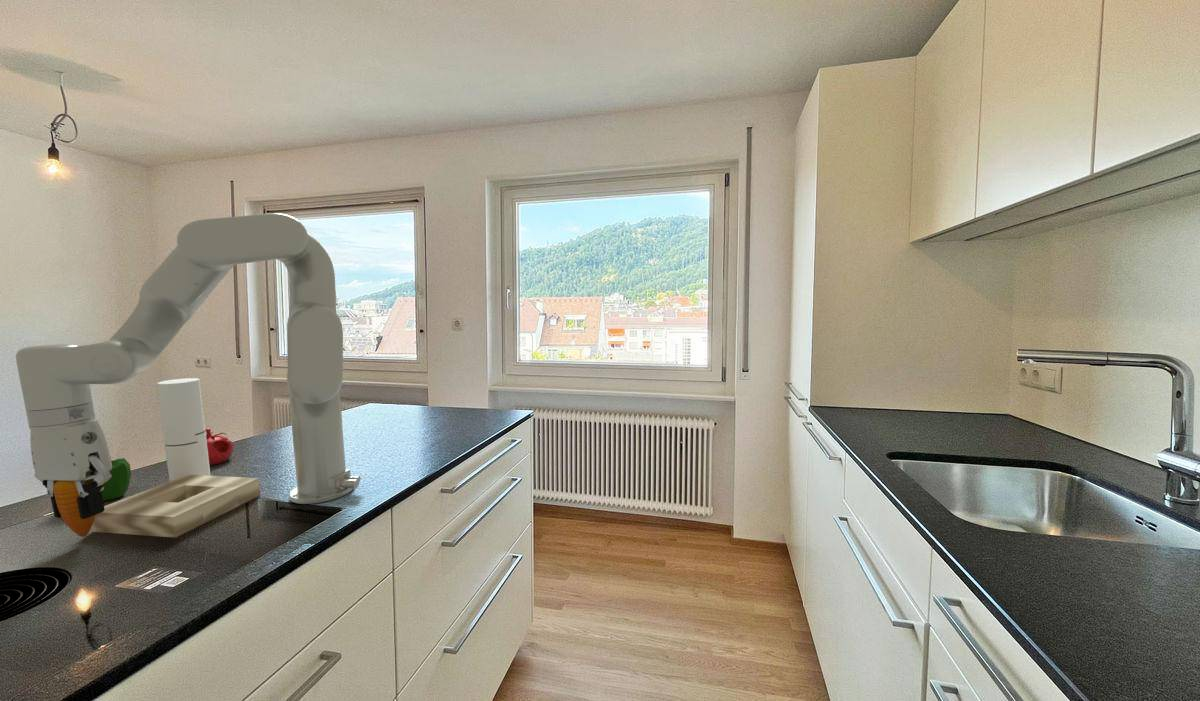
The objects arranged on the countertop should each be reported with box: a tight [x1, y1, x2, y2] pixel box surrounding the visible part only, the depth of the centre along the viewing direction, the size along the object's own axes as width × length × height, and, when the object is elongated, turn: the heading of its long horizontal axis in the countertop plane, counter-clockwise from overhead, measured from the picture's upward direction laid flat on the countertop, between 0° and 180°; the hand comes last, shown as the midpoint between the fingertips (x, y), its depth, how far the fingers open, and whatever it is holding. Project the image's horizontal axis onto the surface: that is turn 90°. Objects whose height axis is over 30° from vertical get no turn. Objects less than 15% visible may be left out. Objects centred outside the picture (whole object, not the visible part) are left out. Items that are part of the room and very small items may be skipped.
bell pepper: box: [87, 456, 132, 501], centre depth 100 cm, size 8×8×10 cm
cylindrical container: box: [157, 377, 211, 482], centre depth 106 cm, size 7×7×25 cm
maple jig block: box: [91, 475, 261, 538], centre depth 94 cm, size 18×18×4 cm
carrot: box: [53, 474, 96, 538], centre depth 81 cm, size 5×5×15 cm
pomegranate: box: [205, 427, 235, 466], centre depth 122 cm, size 10×10×9 cm
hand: (79, 513), depth 81 cm, fingers closed on carrot, 4 cm apart
